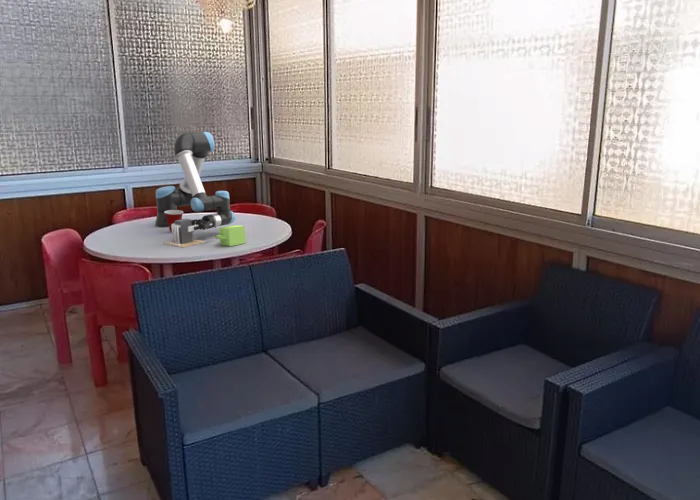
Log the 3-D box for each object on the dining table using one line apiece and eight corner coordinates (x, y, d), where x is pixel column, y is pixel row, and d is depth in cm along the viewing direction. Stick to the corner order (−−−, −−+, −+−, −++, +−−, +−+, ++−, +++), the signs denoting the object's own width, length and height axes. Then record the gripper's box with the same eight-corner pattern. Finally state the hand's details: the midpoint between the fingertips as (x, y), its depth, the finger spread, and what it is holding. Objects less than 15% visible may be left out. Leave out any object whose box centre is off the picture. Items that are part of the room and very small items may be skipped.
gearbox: (240, 240, 324) (239, 223, 322) (252, 241, 318) (251, 224, 316) (213, 245, 310) (212, 227, 309) (225, 247, 304) (224, 229, 302)
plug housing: (176, 242, 316) (174, 220, 313) (187, 240, 321) (185, 218, 318) (182, 244, 313) (180, 221, 310) (193, 241, 318) (191, 219, 315)
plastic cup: (179, 233, 340) (177, 213, 337) (162, 233, 342) (160, 212, 340) (188, 229, 351) (186, 209, 348) (171, 229, 353) (169, 209, 350)
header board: (163, 243, 316) (162, 224, 313) (186, 238, 327) (184, 220, 325) (183, 247, 307) (181, 228, 304) (205, 241, 318) (204, 223, 316)
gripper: (226, 230, 323) (196, 237, 307) (196, 225, 338) (166, 232, 321) (225, 216, 322) (194, 223, 305) (195, 212, 336) (164, 218, 319)
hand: (180, 227), depth 313 cm, fingers open, 13 cm apart
